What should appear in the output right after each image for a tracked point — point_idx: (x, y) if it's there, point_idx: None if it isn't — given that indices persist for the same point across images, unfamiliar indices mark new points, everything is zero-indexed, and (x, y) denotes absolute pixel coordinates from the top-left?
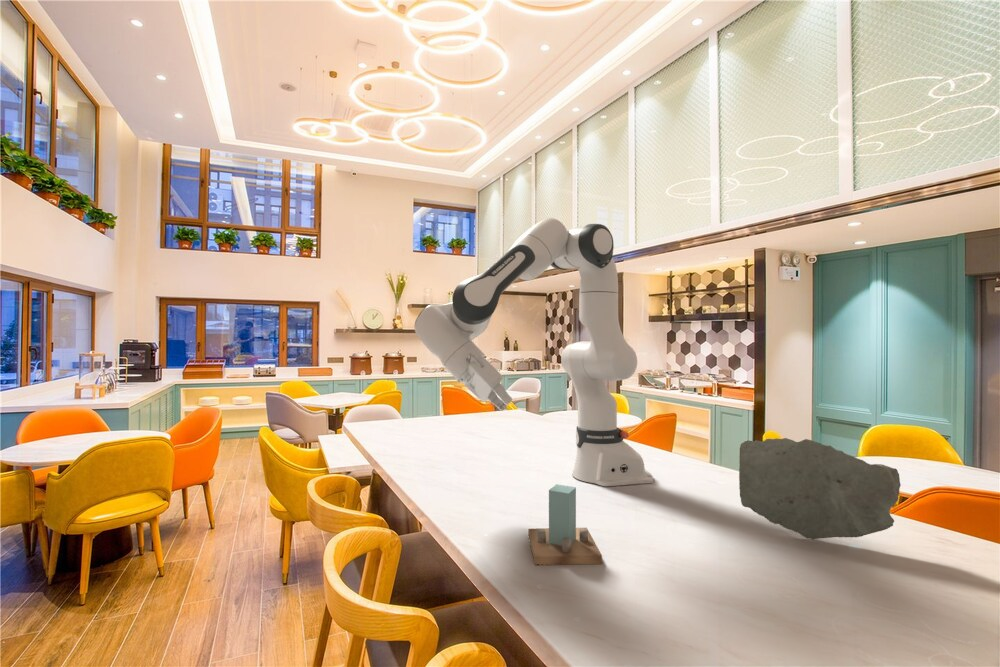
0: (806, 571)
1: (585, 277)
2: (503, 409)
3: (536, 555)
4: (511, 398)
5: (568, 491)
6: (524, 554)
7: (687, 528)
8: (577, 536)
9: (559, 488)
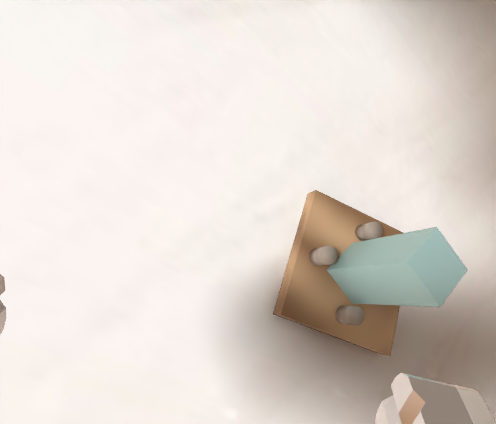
0: (471, 15)
1: None
2: (4, 315)
3: (386, 350)
4: (482, 401)
5: (456, 262)
6: (340, 356)
7: (339, 12)
8: (344, 233)
9: (435, 272)
